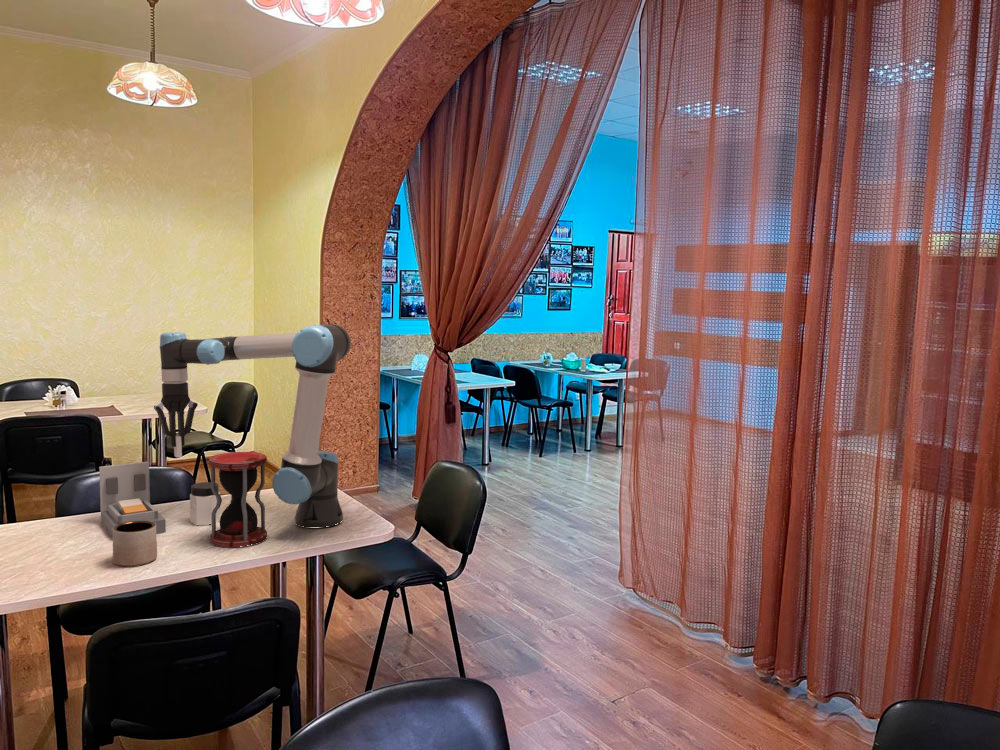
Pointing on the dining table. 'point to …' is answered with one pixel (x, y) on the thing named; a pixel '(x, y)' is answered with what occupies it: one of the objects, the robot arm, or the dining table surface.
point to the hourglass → (238, 499)
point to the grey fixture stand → (126, 495)
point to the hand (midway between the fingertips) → (178, 456)
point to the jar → (203, 503)
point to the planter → (134, 543)
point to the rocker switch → (131, 506)
